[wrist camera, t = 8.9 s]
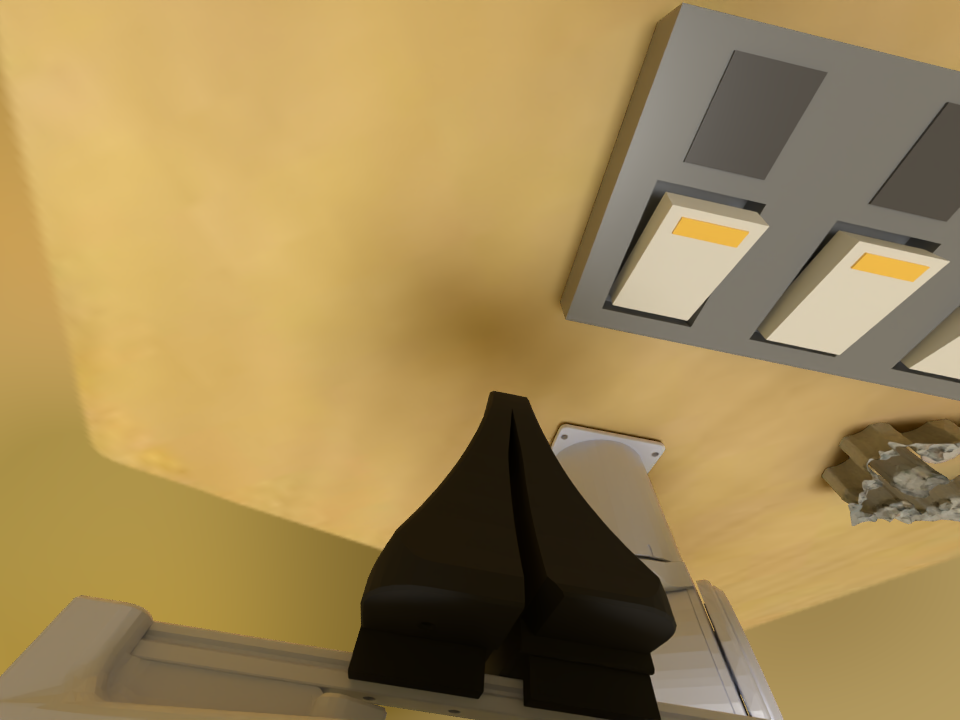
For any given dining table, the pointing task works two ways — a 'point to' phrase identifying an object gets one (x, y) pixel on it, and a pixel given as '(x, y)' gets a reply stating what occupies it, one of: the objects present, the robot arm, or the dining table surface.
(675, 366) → the dining table surface
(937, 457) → the egg carton
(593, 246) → the grey rocker switch panel
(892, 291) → the rocker middle
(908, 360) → the rocker carton end
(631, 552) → the robot arm
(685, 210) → the labelled cream tile
